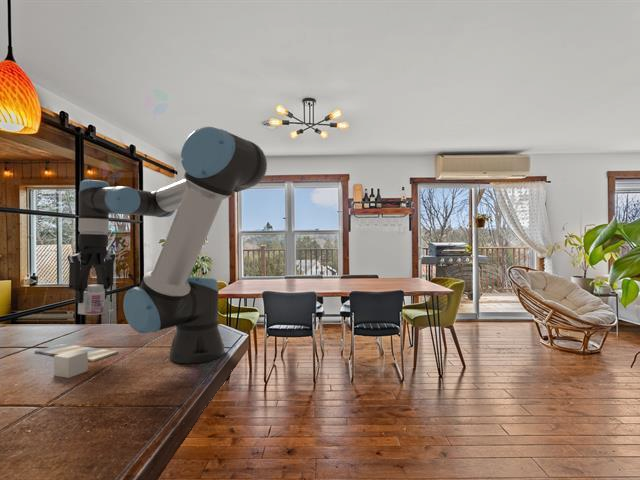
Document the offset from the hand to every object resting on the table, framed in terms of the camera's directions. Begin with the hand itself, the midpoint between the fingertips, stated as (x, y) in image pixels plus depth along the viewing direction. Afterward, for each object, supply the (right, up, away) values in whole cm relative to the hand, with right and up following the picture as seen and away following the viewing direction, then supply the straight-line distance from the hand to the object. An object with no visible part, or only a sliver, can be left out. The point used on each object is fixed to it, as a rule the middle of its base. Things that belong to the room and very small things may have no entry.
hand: (91, 311), depth 105 cm
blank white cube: (+4, -13, -15) cm, 20 cm away
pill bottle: (+1, -1, 0) cm, 1 cm away
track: (-6, -13, +2) cm, 14 cm away
